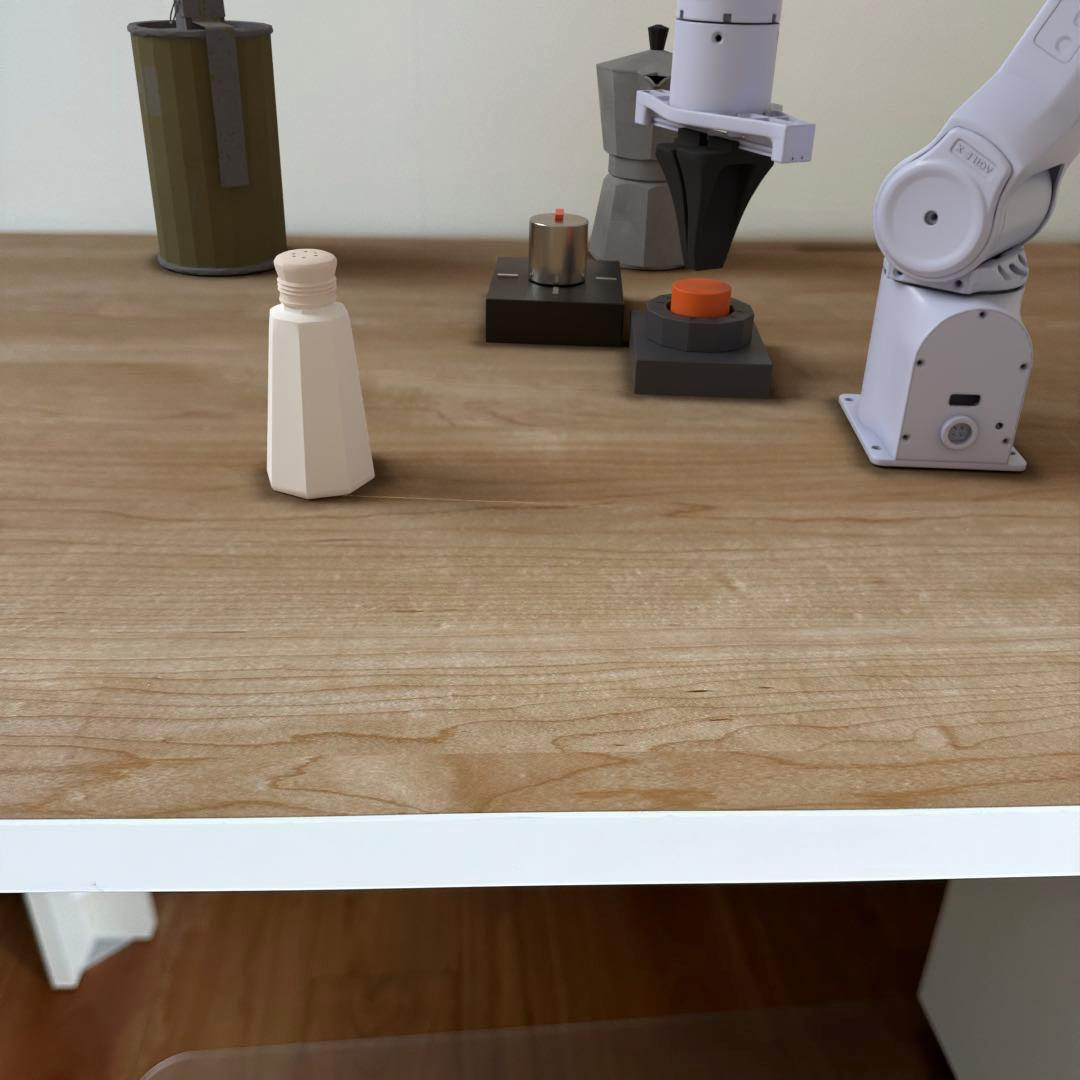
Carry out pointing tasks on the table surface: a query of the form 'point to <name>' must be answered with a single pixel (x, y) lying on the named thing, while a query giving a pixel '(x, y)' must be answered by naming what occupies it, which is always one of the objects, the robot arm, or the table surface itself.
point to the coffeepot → (635, 165)
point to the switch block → (698, 353)
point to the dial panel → (555, 307)
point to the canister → (211, 139)
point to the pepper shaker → (314, 384)
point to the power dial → (557, 248)
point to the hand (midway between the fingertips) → (703, 267)
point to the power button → (701, 297)
